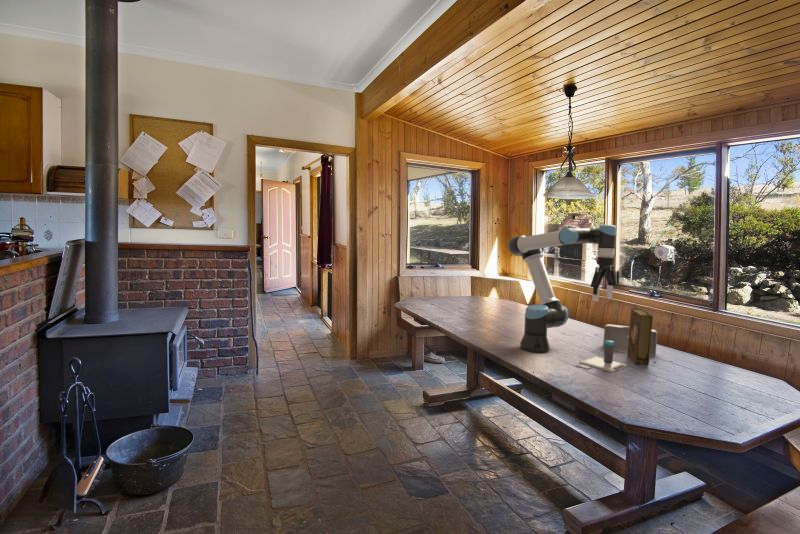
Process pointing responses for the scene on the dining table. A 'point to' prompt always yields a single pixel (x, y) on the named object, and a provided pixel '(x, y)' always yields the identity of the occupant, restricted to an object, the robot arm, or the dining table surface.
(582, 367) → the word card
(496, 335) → the dining table surface
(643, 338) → the book
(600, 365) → the cream square framed board
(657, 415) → the dining table surface
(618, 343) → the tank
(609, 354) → the marker
